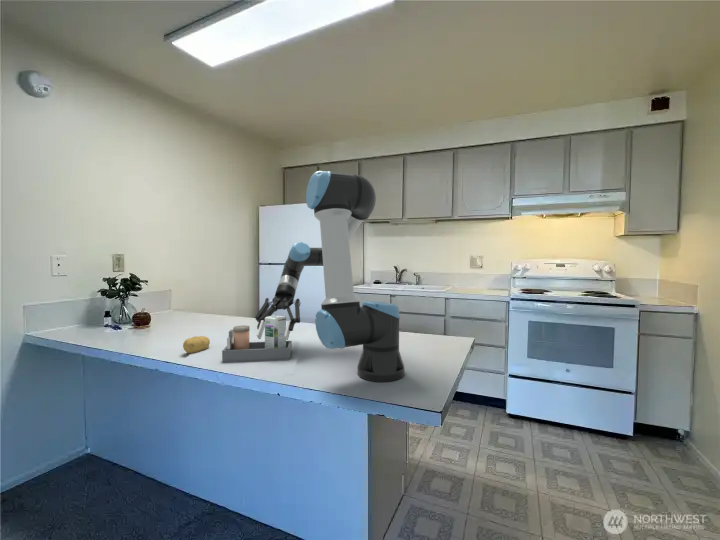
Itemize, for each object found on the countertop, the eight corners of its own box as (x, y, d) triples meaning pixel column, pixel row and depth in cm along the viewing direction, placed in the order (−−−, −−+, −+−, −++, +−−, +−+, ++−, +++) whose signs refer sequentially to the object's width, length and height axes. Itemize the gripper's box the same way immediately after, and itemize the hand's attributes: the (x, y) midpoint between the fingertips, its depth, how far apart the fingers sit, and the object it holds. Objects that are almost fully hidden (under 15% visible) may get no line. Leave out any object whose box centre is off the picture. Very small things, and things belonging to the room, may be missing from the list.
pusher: (235, 352, 127) (235, 328, 127) (230, 359, 119) (229, 333, 119) (232, 353, 127) (232, 328, 127) (227, 359, 119) (226, 333, 119)
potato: (178, 355, 129) (177, 339, 129) (202, 347, 140) (202, 332, 139) (190, 357, 127) (190, 340, 126) (214, 349, 137) (214, 334, 136)
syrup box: (264, 356, 124) (263, 317, 123) (275, 352, 129) (274, 314, 129) (276, 358, 122) (275, 318, 121) (287, 354, 127) (286, 315, 126)
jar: (248, 358, 121) (248, 328, 121) (232, 359, 121) (231, 329, 120) (251, 354, 127) (250, 325, 126) (235, 354, 126) (235, 325, 126)
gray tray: (291, 353, 131) (291, 340, 131) (289, 362, 121) (289, 348, 121) (229, 355, 128) (229, 342, 128) (222, 365, 118) (222, 350, 118)
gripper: (315, 295, 138) (304, 343, 123) (263, 294, 141) (246, 342, 126) (311, 283, 133) (299, 332, 118) (257, 283, 136) (239, 331, 121)
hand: (272, 337), depth 122 cm, fingers open, 10 cm apart
